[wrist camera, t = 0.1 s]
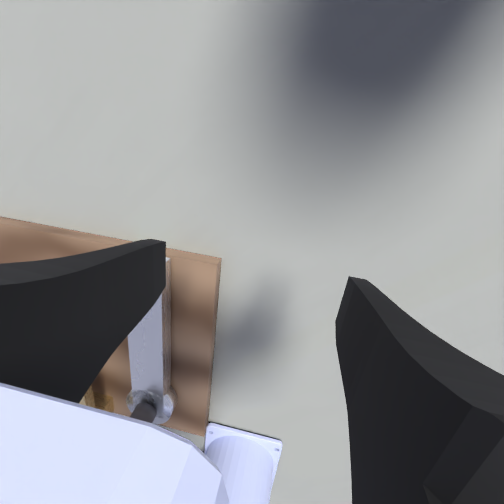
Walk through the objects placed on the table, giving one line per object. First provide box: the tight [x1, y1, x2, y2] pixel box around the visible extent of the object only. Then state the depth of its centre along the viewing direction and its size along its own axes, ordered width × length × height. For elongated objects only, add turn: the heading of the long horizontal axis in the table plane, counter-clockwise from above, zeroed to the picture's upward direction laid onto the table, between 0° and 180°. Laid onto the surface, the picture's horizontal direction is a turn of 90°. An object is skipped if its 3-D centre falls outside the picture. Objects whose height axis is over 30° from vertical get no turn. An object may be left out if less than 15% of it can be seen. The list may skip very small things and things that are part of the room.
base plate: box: [0, 217, 221, 437], centre depth 25 cm, size 20×20×4 cm
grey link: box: [126, 257, 178, 424], centre depth 24 cm, size 17×4×2 cm, turn 173°
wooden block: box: [79, 384, 114, 413], centre depth 27 cm, size 7×4×3 cm, turn 173°
